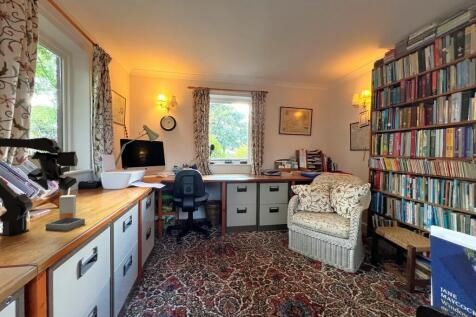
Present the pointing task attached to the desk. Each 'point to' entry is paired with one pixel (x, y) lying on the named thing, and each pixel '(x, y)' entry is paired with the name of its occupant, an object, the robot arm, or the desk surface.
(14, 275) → the desk surface
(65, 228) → the tray
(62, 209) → the skincare box
